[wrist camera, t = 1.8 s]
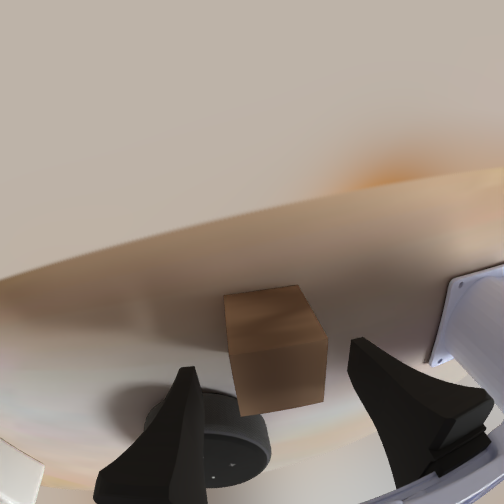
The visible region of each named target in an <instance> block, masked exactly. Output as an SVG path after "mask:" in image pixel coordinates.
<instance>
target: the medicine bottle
mask: <svg viewBox="0 0 504 504" xmlns="http://www.w3.org/2000/svg"><path fill="white" fill-rule="evenodd" d="M44 469H45V466H44V464H43V463H41V462H39V461H37V460H35V459H34V458H32V457H30V456H28V455H27V454H25V453H23V452H21V451H20V450H18V449H17V448H15V447H13V446H12V445H10V444H9V443H7V442H6V441H4V440H3V439H1V438H0V504H35V502H36V498H37V495H38V491H39V488H40V484H41V481H42V477H43V473H44Z"/></svg>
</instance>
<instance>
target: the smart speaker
mask: <svg viewBox="0 0 504 504" xmlns="http://www.w3.org/2000/svg"><path fill="white" fill-rule="evenodd" d="M202 394H203V400H204V413H205V421H204V445H203V466H204V477H205V486H206V488H222V487H228V486H233V485H237V484H241V483H243V482H246V481H248V480H250V479H252V478H254V477H255V476H257V475H258V474H260V473H261V472H262V471H263V470H264V469H265V468H266V466H267V465H268V463H269V461H270V458H271V446H270V441H269V437H268V432H267V427H266V424H265V421H264V419H263V417H262V416H261V415H260V414H256V415H249V416H242V417H241V415H240V410H239V405H238V400H237V399H236V398H232V397H229V396H225V395H219V394H211V393H202ZM163 402H164V401H163ZM163 402H162V403H160V404H158V405H157V406H156V407H155V408H154V409H152V411H151V412H150V413H149V414H148V416H147V419H146V422H145V426H144V431H145V429H146V428H147V427H148V425H149V424H150V423H151V421H152V420H153V418H154V417H155V415H156V414H157V412H158V411H159V409H160V407H161V406H162V404H163Z"/></svg>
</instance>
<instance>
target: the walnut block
mask: <svg viewBox="0 0 504 504" xmlns="http://www.w3.org/2000/svg"><path fill="white" fill-rule="evenodd" d="M224 306H225V318H226V329H227V340H228V351H229V359H230V364H231V369H232V375H233V380H234V385H235V390H236V395H237V400H238V405H239V410H240V415H241V417H242V416H249V415H256V414H263V413H269V412H275V411H281V410H286V409H292V408H297V407H302V406H306V405H311V404H316V403H320V402H323V400H324V390H325V378H326V365H327V351H328V337H327V336H326V334H325V332H324V330H323V328H322V327H321V325H320V323H319V321H318V319H317V318H316V316H315V314H314V312H313V311H312V309H311V307H310V305H309V304H308V302H307V300H306V298H305V297H304V295H303V293H302V291H301V290H300V288H299V286H298V285H294V286H287V287H281V288H274V289H267V290H260V291H253V292H246V293H239V294H231V295H224Z"/></svg>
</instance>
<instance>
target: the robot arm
mask: <svg viewBox="0 0 504 504" xmlns="http://www.w3.org/2000/svg"><path fill="white" fill-rule="evenodd" d="M454 358H455V359H456V361H457V362H458V363H459V364H460V365H461V366H462V367H463V368H464V369H465V370H466V371H467V372H468V374H469V375H470V376H471V377H472V378H473V379H474V380H475V381H476V382H477V383H478V385H480V387H481V388H474V387H466V386H462V385H457V384H453V383H449V382H445V381H442V380H439V379H436V378H434V377H431V376H428V375H426V374H424V373H422V372H419V371H417V370H415V369H413V368H411V367H409V366H408V365H406V364H404V363H402V362H400V361H399V360H397V359H395V358H394V357H392V356H391V355H389V354H388V353H386V352H384V351H383V350H381V349H380V348H378V347H377V346H376V345H374V344H373V343H371V342H370V341H368V340H367V339H365V338H364V337H361V338H357V339H352V340H351V345H350V353H349V361H348V369H347V372H348V375H349V377H350V380H351V382H352V385H353V387H354V389H355V391H356V393H357V395H358V396H359V398H360V400H361V402H362V403H363V405H364V407H365V409H366V410H367V412H368V414H369V416H370V417H371V419H372V421H373V423H374V425H375V427H376V429H377V431H378V434H379V436H380V439H381V441H382V444H383V446H384V449H385V452H386V455H387V458H388V461H389V464H390V467H391V470H392V474H393V477H394V481H395V485H396V490H394V491H392V492H389V493H387V494H384V495H382V496H379V497H377V498H374V499H371V500H369V501H366V502H363V503H360V504H472V503H474V502H475V501H477V500H478V499H479V498H481V497H482V496H484V495H485V494H486V493H487V492H489V491H490V490H491V489H493V488H494V487H495V486H497V485H498V484H499V483H500V482H502V481H503V480H504V420H503V422H502V423H501V425H499V426H498V427H497V428H495V429H494V430H492V431H491V432H490V433H489V434H488V435H486V434H485V432H484V431H485V430H486V427H485V426H484V424H483V423H484V422H485V420H486V418H487V417H488V415H489V414H490V412H491V410H492V408H493V406H494V403H495V404H496V405H497V406H498V408H499V409H500V410H501V411H502V412H503V413H504V264H502V265H499V266H496V267H492V268H489V269H485V270H482V271H478V272H475V273H471V274H468V275H464V276H460V277H457V278H454V279H452V280H451V281H450V283H449V287H448V292H447V297H446V301H445V306H444V310H443V314H442V318H441V322H440V326H439V330H438V333H437V337H436V341H435V344H434V347H433V351H432V354H431V357H430V360H429V365H430V366H431V367H435V366H438V365H440V364H443V363H445V362H447V361H450V360H452V359H454ZM204 421H205V413H204V400H203V394H202V391H201V387H200V384H199V380H198V377H197V373H196V370H195V366H191V367H181V368H180V369H179V371H178V374H177V376H176V379H175V381H174V383H173V385H172V387H171V389H170V391H169V393H168V395H167V397H166V399H165V401H164V402H163V404H162V406H161V407H160V409H159V411H158V412H157V414H156V415H155V417H154V418H153V420H152V421H151V423H150V424H149V425H148V427H147V428H146V429H145V431H144V432H143V433H142V434H141V435H140V436H139V438H138V439H137V440H136V441H135V442H134V443H133V444H132V445H131V446H130V447H129V448H128V449H127V450H126V451H125V452H124V453H123V454H122V455H121V456H119V457H118V458H117V459H116V460H115V461H113V462H112V463H111V464H109V465H108V466H106V467H105V468H104V469H102V470H101V471H99V474H98V477H97V480H96V484H95V489H94V495H93V499H94V501H95V502H96V503H97V504H208V502H207V495H206V486H205V477H204V466H203V445H204Z"/></svg>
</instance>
